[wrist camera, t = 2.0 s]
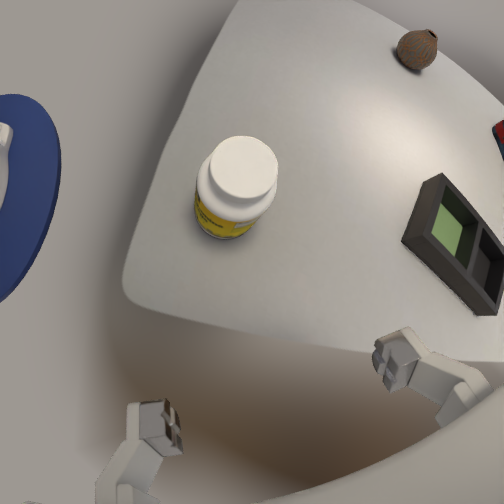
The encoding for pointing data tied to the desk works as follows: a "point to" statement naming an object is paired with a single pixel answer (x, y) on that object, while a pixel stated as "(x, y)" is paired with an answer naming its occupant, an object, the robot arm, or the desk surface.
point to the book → (499, 135)
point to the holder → (457, 245)
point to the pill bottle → (235, 186)
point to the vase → (417, 48)
